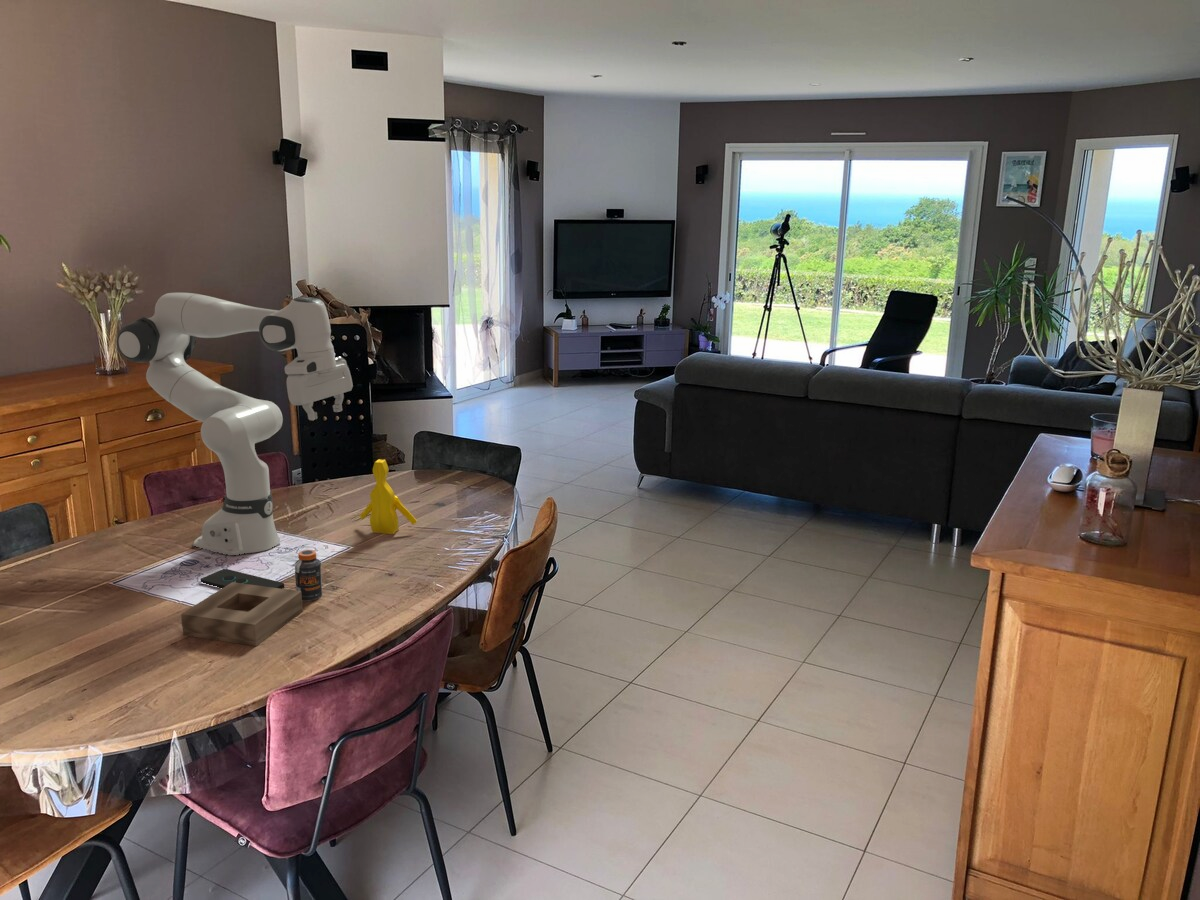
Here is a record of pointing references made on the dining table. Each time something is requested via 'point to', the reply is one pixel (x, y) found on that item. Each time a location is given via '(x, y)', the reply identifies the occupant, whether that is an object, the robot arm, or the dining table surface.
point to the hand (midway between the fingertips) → (325, 415)
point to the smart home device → (238, 579)
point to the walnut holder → (242, 613)
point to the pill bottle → (308, 575)
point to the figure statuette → (384, 503)
